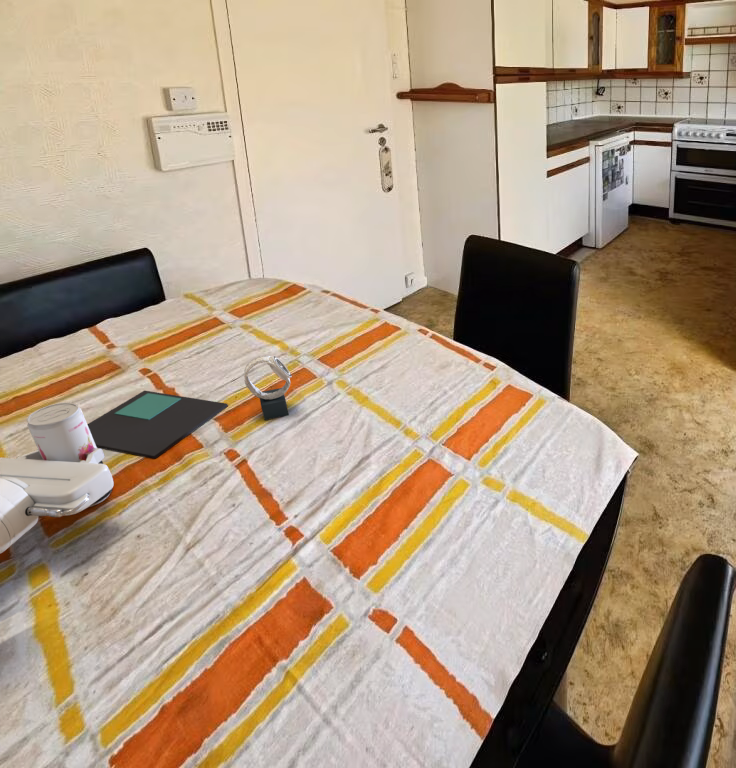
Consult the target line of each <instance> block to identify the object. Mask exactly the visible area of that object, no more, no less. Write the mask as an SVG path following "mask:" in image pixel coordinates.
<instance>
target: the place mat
mask: <svg viewBox="0 0 736 768" xmlns="http://www.w3.org/2000/svg"><path fill="white" fill-rule="evenodd" d="M148 393H150V394H157V395H163V396H169V397H175V398H181V400H179V401H178V402H176V403H175V404H173V405H171V406H170V407H168V408H167V409H165V410H164V411H162V412H161V413H159V414H158V415H156V416H154V417H153V418H151V419H150V420H145V419H140V418H134V417H128V416H122V415H117V414H115V413H116V412H118V411H119V410H121V409H123V408H124V407H126V406H128V405H129V404H131V403H133V402H134V401H136V400H138V399H139V398H141V397H143V396H144V395H146V394H148ZM227 407H229V404H228V403H227V402H226V403H225V402H219V401H212V400H207V399H201V398H195V397H188V396H182V395H176V394H170V393H162V392H157V391H150V390H143V391H141V392H140V393H138V394H136V395H134V396H133V397H131V398H129V399H127V400H126V401H124V402H122V403H121V404H119V405H117V406H116V407H114V408H113V409H111V410H109V411H107V412H105V413H104V414H102V415H101V416H98V417H97V418H95V419H94V420H92V421H91V422H89V423H87V425H88V427H89V430H90V432H91V435H92V437H93V440H94V442H95V444H96V447H97V449H102V450H109V451H113V452H119V453H124V454H129V455H133V456H139V457H145V458H150V459H154V460H155V459H157V458H158V457H160V456H162V454H164V453H165V452H167V451H168V450H169V449H171V448H173V446H175V445H176V444H178V443H179V442H181V441H182V440H184V439H185V438H186V437H188V436H189V435H191V433H193V432H194V431H196V430H197V429H198V428H200V427H201V426H202V425H204V424H205V423H207V422H208V421H210V420H211V419H212V418H214V417H215V416H217V415H218V414H219V413H221V412H222V411H223V410H225V409H226V408H227Z"/></svg>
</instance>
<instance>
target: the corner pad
mask: <svg viewBox="0 0 736 768" xmlns="http://www.w3.org/2000/svg"><path fill="white" fill-rule="evenodd" d="M179 400H181V398H175V397H169V396H163V395H157V394H150V393H148V394H146V395H144V396H143V397H141V398H139V399H138V400H136V401H134V402H133V403H131V404H129V405H128V406H126V407H124V408H123V409H121V410H119V411H118V412H116V413H115V414H117V415H122V416H128V417H134V418H140V419H145V420H150V419H151V418H153V417H154V416H156V415H158V414H159V413H161V412H162V411H164V410H165V409H167V408H168V407H170V406H171V405H173V404H175V403H176V402H178V401H179Z"/></svg>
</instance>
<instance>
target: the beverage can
mask: <svg viewBox="0 0 736 768" xmlns="http://www.w3.org/2000/svg"><path fill="white" fill-rule="evenodd" d="M26 422H27V423H26V425H27V428H28V430H29V433H30V435H31V437H32V439H33V441H34V444H35V446H36V448H37V449H38V450H39V452H40V454H41V457H42V459H43V460H48V461H64V462H80V461H82V460H84V461H86V458H85V455H84V453H86V452H87V451H89V450H90V449H91V448H96V449H98V447H96V444H95V442H94V440H93V437H92V435H91V432H90V430H89V427H88V425H87V424H88V422H87V420H86V418H85V415H84V412H83V410H82V408H81V407H79V405H78V404H77V403H75V402H70V401H69V402H68V401H67V402H66V401H65V402H57V403H53V404H49V405H45V406H44V407H43V406H42V407H40V408H38V409H37V410H34V411H33V412H32V413H30V414H29V415H28V416H27V418H26ZM98 464H104V461H103V460H101V461H100V462H99V463H98ZM113 489H114V487H113V488H112V489H111V490H110V491H109V492H107V493H106V494H105V495H104V496H102V497H101V498H100V499H98V500H97V501H96V502H94V503H93V504H91V505H90V506H89V507H87V508H86V509H88V508H91V507H94V506H96V505H98V504H100V503H102V502H103V501H105V500H106V499H107V498H108V497H109V496H110V494H111V493H112V492H113Z"/></svg>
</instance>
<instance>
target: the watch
mask: <svg viewBox="0 0 736 768" xmlns="http://www.w3.org/2000/svg"><path fill="white" fill-rule="evenodd" d="M262 363H263V364H264V363H266V365H268V366H269V367H270V369H271V371H273V373H274V374H275V375H276V376H277V377H278V378H280V379H281V380H283V381H285V383H284V384H283V386H282V387H279V388H274V389H268V390H264V391H261V389H260V388H258V387H257V386H256V385H255V384H253V382H252V381H251V379H250V378H249V376H248V375H249V373H250V371H251V369H253V368H254V367H255V366H256V365H260V364H262ZM243 377H244V385H245V386H246V388H247V389H248V390H249V391H250V392H251V394H253V395H254V397H256V398H258V399H259V402H260V407H261V412H262V416H263V420H264V421H269V420H273V419H277V418H283V417H287V416H290V413H289V410H288V403H287V400H286V399H287V398H286V395H285V394H286V393H287V392H288V390H289V388H290V386H291V378H292V373H291V371H290V370H289V369H288V367H287V365H285V364H284V362H282V360H280V359H279V358H278V357H277V356H276V355H273V356H270V355H260V356H257V357H255V358H253V359H252V360H251V359H250V361H249V362H248V363H247V364H246V366H245V368H244V372H243Z"/></svg>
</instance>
